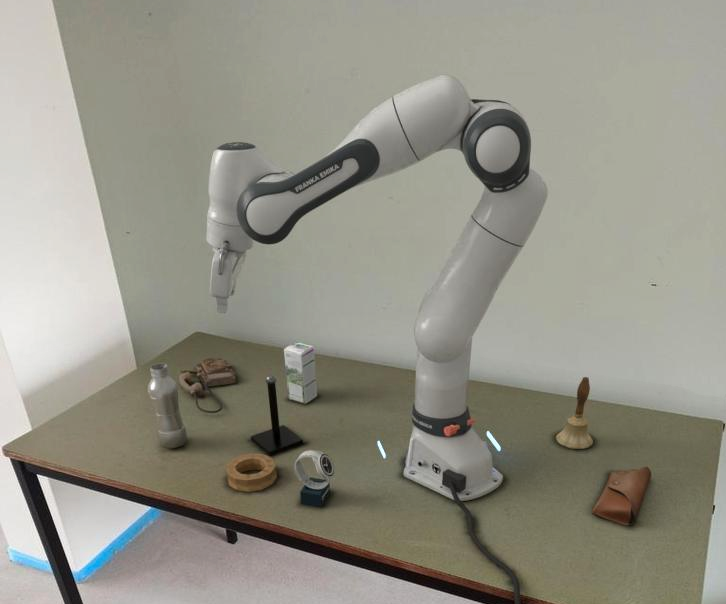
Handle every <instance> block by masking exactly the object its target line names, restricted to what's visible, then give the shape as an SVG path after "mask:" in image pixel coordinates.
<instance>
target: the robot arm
mask: <svg viewBox="0 0 726 604" xmlns="http://www.w3.org/2000/svg"><path fill="white" fill-rule="evenodd" d="M451 149H452V150H457V151H460V152H461V153H462V154H463V156H464V160H465V163H466V165H467V167H468V169H469V170H470V171H471V173H472V174H473V175H474V177H476V178H477V179H478V180H479V181H480V182H481V183H482V184H483V186H484V189H483V192H482V195H481V197H480V200H479V202H478V203H477V205H476V206H475V208H474V209H473V211H472V213H471V215H470V217H469V218H468V220H467V222H466V224H465V226H464V227H463V230H462V231H461V233H460V234H459V237H458V238H457V240H456V241H455V244H454V246H453V247H452V249H451V251H450V253H449V254H448V256H447V259H446V261H445V263H444V265H443V267H442V269H441V271H440V273H439V274H438V276H437V279H436V280H435V282H434V284H433V285H432V286H431V287H430V288H428V290H426V291H425V293H424V295H423V296H422V299H421V300H420V301H421V302H420V305H419V308H418V312H417V315H416V318H415V321H414V323H413V324H414V325H413V335H414V341H415V344H416V347H417V352H416V353H417V354H416V363H415V364H416V365H415V373H414V374H415V376H414V380H415V381H414V402H413V404H412V409H411V422H412V425H413V426H412V430H411V435H410V439H409V444H408V451H407V454H406V457H405V463H404V464H405V466H404V469H403V474H402V476H403V477H405V478H406V479H408V480H411V481H413V482H415V483H416V484H419V485H421V486H423V487H425V488H427V489H430V490H432V491H433V492H435V493H438V494H440V495H442V496H444V497H446V498H449V499H450V500H452V501H454V502H455V503H456V504H457V506H458V507H459V508H460V509H461V510H462V511H463V512H464V514H465V515H466V518H467V522H468V525H467V526H468V528H467V530H468V533H469V535H470V538H471V540H472V541H473V543H474V544H475V545H476V547H477V548H478V549H479V550H480V551H481V553H483V555H485V556H486V557H487V559H489V561H491V562H492V563H494V565H496V567H497V566H498V568H500V569H502V571H504V572H505V573H506V574H507V575H508V576H509V578H510V579H511V582H512V584H513V599H514V604H521V603H522V601H521V587H520V581H519V579H518V577H517V575H516V574H515V573H514V571H513V570H512V569H511V568H510V567H509V566H508V565H507V564H505V563H504V562H503V561H501V560H500V559H498V558H497V557H496V556H495V555H493V553H492V552H490V551H489V550H488V548H487V547H486V546H485V545H484V544H483V543H482V542H481V541H480V539H479V538H478V536H477V535H476V532H475V529H474V517H473V515H472V513H471V511H470V510H469V508H467V506H466V505H465V504H464V503H463V502H464V501H465V502H466V501H470V500H475V499H478V498H481V497H483V496H486V495H487V494H489V493H491V492H493V491H494V490H497V488H499V487H500V486H501V484H502V483H503V480H504V475H503V474H502V473H501V472H500V471H499V470H497V469H496V468H495V467H494V465H493V464H494V463H493V457H492V456H493V455H492V453H491V451H490V450H489V446H488V443H487V441H486V440H482V439H481V438H480V436H479V434H478V433H477V432H476V430H475V429H474V428H473V424H475V423H476V421H475V420H476V419H477V418H476V417H471V413H470V409H469V406H468V396H469V395H468V394H469V384H470V383H469V381H470V372H471V371H470V369H471V359H472V345H473V336H474V335H475V333H476V331H477V329H478V328H479V326H480V324H481V322H482V320H483V318H484V316H485V314H486V313H487V311H488V309H489V307H490V305H491V303H492V301H493V299H494V297H495V296H496V293H497V291H498V290H499V287H500V286H501V284H502V282H503V281H504V279H505V277H506V276H507V274H508V272H509V270H510V269H511V267H512V266H513V265H514V263H515V262H516V260H517V258H518V256H519V254H520V253H521V251H522V250H523V248H524V247H525V245H526V243H527V241H528V240H529V238H530V236H531V234H532V233H533V231H534V229H535V227H536V225H537V223H538V221H539V219H540V217H541V214H542V212H543V210H544V208H545V205H546V201H547V199H548V193H549V191H548V187H547V183H546V181H545V180H544V179H543V177H542V176H541V175H540V174H539V173H538V172H537V171H536V170H534V169H532V168H531V152H532V139H531V132H530V129H529V125H528V121H527V120H526V118H525V116H524V115H523V113H522V112H521V111H520V110H519V109H518V108H516V107H515V106H513V105H512V104H510V103H509V102H506V101H504V100H503V101H502V100H498V99H478V98H476V99H474V98H471V97H470V95H469V93H468V91H467V89H466V87H465V85H464V84H463V83H462V82H461V81H460V80H459V79H458V78H457V77H455V76H453V75H451V74H441V75H438V76H435V77H432V78H429V79H426V80H424V81H421V82H419V83H416V84H414V85H412V86H410V87H408V88H406V89H404V90H402V91H400V92H398V93H396V94H395V95H393V96H391V97H389V98H388V99H386V100H384V101H383V102H382V103H380V104H379V105H377V106H376V107H375V108H373V109H372V110H371V111H370V112H368V113H367V114H366V115H365V116H363V118H362V119H361V120H359V122H357V124H356V125H355V126H354V127H353V128H352V129H351V131H350V132H349V133H348V134H347V135H346V137H345V138H344V139H343V140H342V141H341V142H340V143H339V144H338V145H337V146H336V147H335V148H334V149H333V150H331V151H330V152H328V153H327V154H326V155H325V156H323V157H322V158H320V159H318V160H316V161H315V162H313V163H311V164H310V165H308V166H307V167H305V168H303V169H301V170H300V171H298V172H296V173H293V172H291V171H288V170H286V169H284V168H283V167H281V166H280V165H277V164H276V163H274V162H273V161H271V160H270V159H269V158H267V156H265V155H264V154H263V153H262V152H261V150H260V149H259V148H258V147H257V146H256V145H255V144H253V143H250V142H244V141H243V142H241V141H233V142H226V143H224V144H221V145H219V146H218V147H216V149H214V151H213V153H212V157H211V161H210V168H209V175H208V191H207V192H208V196H209V207H208V210H207V215H206V239H205V240H206V242H207V244H209V245H210V246H212V252H214V254H213V257H212V261H211V268H210V278H209V279H210V281H209V294H210V296H211V297H212V298H215V301H216V312H217V313H218V314H226V313H227V311H228V299H229V298H230V296H234V294H235V292H236V284H237V281H238V278H239V276H240V273H241V271H242V269H243V266H244V263H245V261H246V255H247V251H248V250H251V249H252V248H253V246H254V241H255V242H257V243H259V244H263V245H276V244H278V243H281V242H282V241H284V240H285V239H286V238H287V237H288V236H289V235H290V233H291V232H292V230H293V229H294V228H295V226H296V224H297V223H298V222H299V221H300V220H301V219H302V218H304V217H305V216H306V215H307V214H309V213H310V212H312V211H314V210H316V209H318V208H319V207H321V206H323V205H324V204H327V203H328V202H330V201H331V200H333V199H334V198H336V197H338V196H340V195H342V194H344V193H346V192H347V191H349V190H351V189H353V188H356V187H359V186H361V185H364V184H367V183H370V182H372V181H375V180H379V179H381V178H384V177H387V176H390V175H394V174H396V173H398V172H400V171H403V170H405V169H408V168H410V167H412V166H414V165H416V164H418V163H420V162H421V161H424V160H426V159H427V158H429V157H430V156H433V155H434V154H437V153H438V152H441V151H445V150H451ZM486 436H487V437H488V439H489V440H490V441H491V443H492V444H493V445H494V447H495V448H496V450H497V451H498V452H500V451H501V446H500V445H499V443H498V442H497V440H496V439H495V437H493V435H492V433H490V431H489V430H488V431H487V432H486ZM377 446H378V448H379V451H380V453H381V455H382V457H383V459H386V453H385V451H384V448H383V446H382V444H381V442H380V440H378V441H377Z"/></svg>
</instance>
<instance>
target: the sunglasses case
mask: <svg viewBox="0 0 726 604" xmlns="http://www.w3.org/2000/svg"><path fill="white" fill-rule="evenodd" d="M651 478H652V471H651V469H650V467H648V466H643V467H640V468H636V469H635V468H634V469H624V470H617V471H610V472H609V475H608V479H607V481H606V484H605V486H604V488H603V491H602V492H601V494H600V496H599V498H598V500H597V502H596V503H595V504H594V506H593V508H592V510H591V513H593V514H594V515H595V516H597V517H599V518H602V519H604V520H607V521H610V522H612V523H616V524H619V525H621V526H622V525H623V526H627V527H628V526H632V525H633V524H636V521H637V518H638V516H639V513H640V511H641V507H642V505H643V502H644V499H645V496H646V493H647V491H648V488H649V484H650V482H651Z"/></svg>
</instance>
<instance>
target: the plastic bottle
mask: <svg viewBox="0 0 726 604" xmlns="http://www.w3.org/2000/svg"><path fill="white" fill-rule="evenodd" d="M149 370H150V376H151V377H152V378H151V379H150V381H149V383H148V385H147V392H148V393H147V394H148V395H149V399H150V401H151V403H152V406H153V410H154V413H155V418H156V425H157V427H156V428H157V429H156V433H157V439H158V442H159V444H160V445H162V446H163V447H164V448H166V449H175V448H179V447H182V446H184V445H185V444H186V442H187V440H188V433H187V429H186V426H185V425H184V422H183V418H182V415H181V411H180V404H179V387H178V384H177V382H176V381H175V380H174V379H173V378H172V377H171V376H170V375H169V374H170V371H169V369H168V364H166V363H160V362H159V363H154V364H152V365H150V367H149Z"/></svg>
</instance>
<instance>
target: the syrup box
mask: <svg viewBox="0 0 726 604" xmlns="http://www.w3.org/2000/svg"><path fill="white" fill-rule="evenodd" d="M283 354H284V355H283V356H284V365H285V375H286V386H287V387H286V388H287V397H288V400H290V401H294V402H297V403H300V404H304V405H306V404H307V403H309V402H311V401H312V400H314V399H315V398H316V397H318V390H317V377H316V361H315V357H316V356H315V348H314V345H311V344H310V345H309V344H305V343H302V342H298V341H297V342H294V343H291V344H290V345H288V346H287V347H285V348H284V349H283Z"/></svg>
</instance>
